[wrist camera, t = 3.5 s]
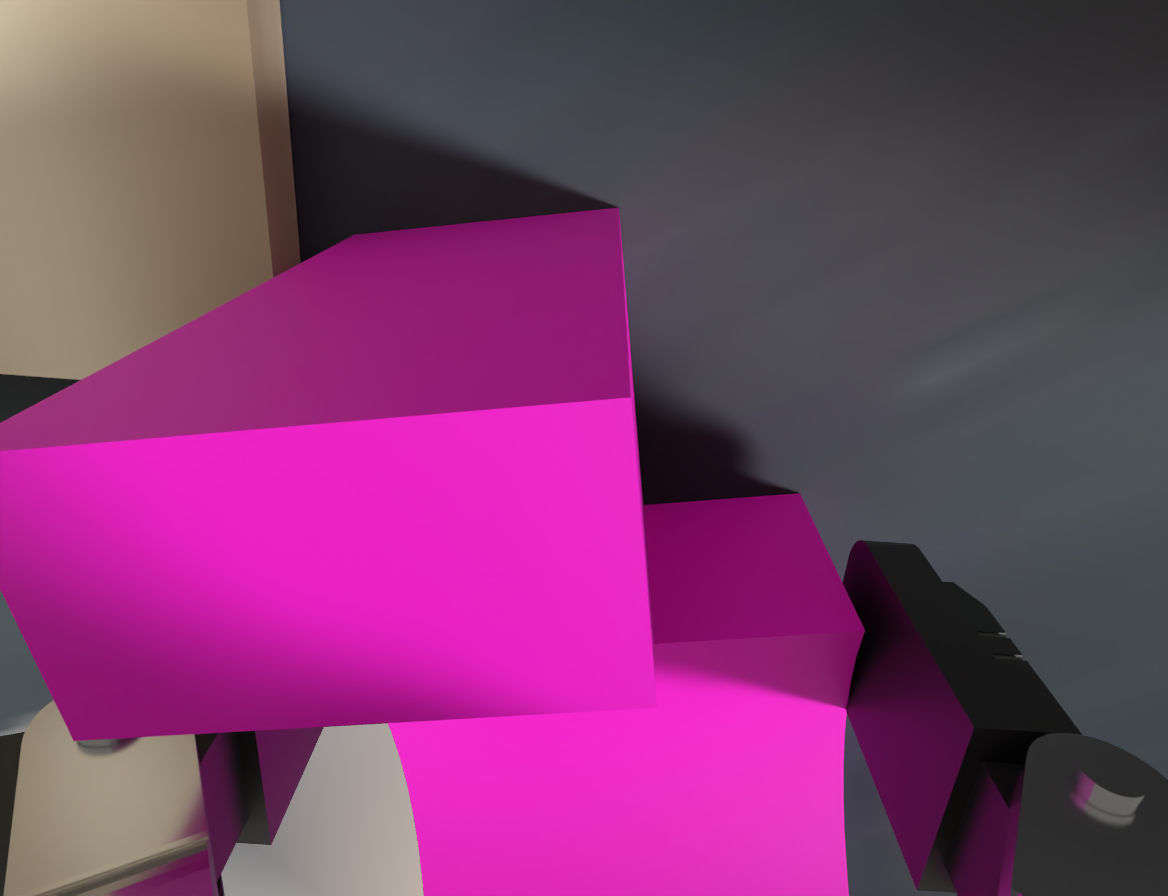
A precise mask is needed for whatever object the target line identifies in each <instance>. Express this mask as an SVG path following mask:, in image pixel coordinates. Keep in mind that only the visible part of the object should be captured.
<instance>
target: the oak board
mask: <svg viewBox="0 0 1168 896" xmlns="http://www.w3.org/2000/svg"><path fill="white" fill-rule="evenodd" d="M300 263H301V260H300V248H299V236H298V223H297V211H296V199H295V186H294V174H293V162H292V150H291V137H290V125H289V113H288V100H287V88H286V76H285V64H284V51H283V39H282V27H281V14H280V2H279V0H0V374H8V375H22V376H35V377H49V378H62V379H76V380H82V379H84V378H86V377H88V376H89V375H91V374H93V373H95V372H97V371H99V370H101V369H103V368H104V367H106V366H108V365H110V364H112V363H114V362H116V361H118V360H120V359H121V358H123V357H125V356H127V355H129V354H131V353H133V352H135V351H136V350H138V349H140V348H142V347H144V346H146V345H148V344H150V343H152V342H153V341H155V340H157V339H159V338H161V337H163V336H165V335H167V334H168V333H170V332H172V331H174V330H176V329H178V328H180V327H182V326H184V325H185V324H187V323H189V322H191V321H193V320H195V319H197V318H199V317H200V316H202V315H204V314H206V313H208V312H210V311H212V310H214V309H215V308H217V307H219V306H221V305H223V304H225V303H227V302H229V301H231V300H232V299H234V298H236V297H238V296H240V295H242V294H244V293H246V292H247V291H249V290H251V289H253V288H255V287H257V286H259V285H261V284H263V283H264V282H266V281H268V280H270V279H272V278H274V277H276V276H278V275H279V274H281V273H283V272H285V271H287V270H289V269H291V268H293V267H295V266H296V265H298V264H300Z"/></svg>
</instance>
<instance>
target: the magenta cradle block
mask: <svg viewBox="0 0 1168 896" xmlns="http://www.w3.org/2000/svg"><path fill="white" fill-rule="evenodd" d="M0 590H1V592H2V594H3V596H4V598H5V600H6V602H7V604H8V606H9V608H10V610H11V612H12V614H13V616H14V619H15V621H16V623H17V625H18V627H19V629H20V631H21V633H22V635H23V637H24V639H25V641H26V643H27V645H28V648H29V650H30V652H31V654H32V656H33V658H34V660H35V662H36V664H37V666H38V668H39V670H40V672H41V674H42V677H43V679H44V681H45V683H46V685H47V687H48V689H49V691H50V693H51V695H52V697H53V699H54V701H55V703H56V706H57V708H58V710H59V712H60V714H61V716H62V718H63V720H64V722H65V724H66V726H67V728H68V730H69V732H70V735H71V737H72V739H73V741H84V740H101V739H119V738H136V737H154V736H172V735H189V734H207V733H224V732H242V731H259V730H277V729H294V728H312V727H329V726H347V725H363V724H382V723H388V725H389V727H390V730H391V732H392V735H393V738H394V741H395V744H396V747H397V750H398V753H399V756H400V759H401V763H402V766H403V771H404V775H405V778H406V782H407V786H408V790H409V795H410V800H411V805H412V809H413V815H414V821H415V827H416V833H417V840H418V847H419V854H420V863H421V871H422V881H423V891H424V896H849V890H848V878H847V866H846V849H845V832H844V801H843V762H844V738H845V725H846V713H847V711H846V706H847V703H848V697H849V690H850V684H851V678H852V673H853V669H854V665H855V660H856V656H857V653H858V650H859V647H860V644H861V641H862V638H863V635H864V632H865V629H864V627H863V625H862V623H861V621H860V619H859V617H858V615H857V613H856V610H855V608H854V606H853V604H852V602H851V600H850V598H849V596H848V594H847V592H846V589H845V587H844V585H843V583H842V581H841V579H840V577H839V575H838V573H837V570H836V568H835V566H834V564H833V562H832V560H831V558H830V556H829V554H828V552H827V549H826V547H825V545H824V543H823V541H822V539H821V537H820V535H819V533H818V530H817V528H816V526H815V524H814V522H813V520H812V518H811V516H810V514H809V512H808V509H807V507H806V505H805V503H804V501H803V499H802V497H801V495H800V493H797V494H784V495H771V496H757V497H744V498H731V499H718V500H704V501H691V502H678V503H665V504H651V505H643V495H642V483H641V471H640V458H639V446H638V434H637V422H636V410H635V398H634V386H633V373H632V361H631V349H630V337H629V325H628V313H627V300H626V288H625V276H624V264H623V252H622V240H621V227H620V215H619V208H609V209H599V210H589V211H580V212H570V213H560V214H551V215H541V216H531V217H522V218H512V219H502V220H492V221H483V222H473V223H463V224H454V225H444V226H434V227H425V228H415V229H405V230H395V231H386V232H376V233H366V234H357V235H353V236H351V237H349V238H347V239H345V240H343V241H342V242H340V243H338V244H336V245H334V246H332V247H330V248H328V249H327V250H325V251H323V252H321V253H319V254H317V255H315V256H313V257H311V258H310V259H308V260H306V261H304V262H302V263H300V264H298V265H296V266H295V267H293V268H291V269H289V270H287V271H285V272H283V273H281V274H279V275H278V276H276V277H274V278H272V279H270V280H268V281H266V282H264V283H263V284H261V285H259V286H257V287H255V288H253V289H251V290H249V291H247V292H246V293H244V294H242V295H240V296H238V297H236V298H234V299H232V300H231V301H229V302H227V303H225V304H223V305H221V306H219V307H217V308H215V309H214V310H212V311H210V312H208V313H206V314H204V315H202V316H200V317H199V318H197V319H195V320H193V321H191V322H189V323H187V324H185V325H184V326H182V327H180V328H178V329H176V330H174V331H172V332H170V333H168V334H167V335H165V336H163V337H161V338H159V339H157V340H155V341H153V342H152V343H150V344H148V345H146V346H144V347H142V348H140V349H138V350H136V351H135V352H133V353H131V354H129V355H127V356H125V357H123V358H121V359H120V360H118V361H116V362H114V363H112V364H110V365H108V366H106V367H104V368H103V369H101V370H99V371H97V372H95V373H93V374H91V375H89V376H88V377H86V378H84V379H82V380H80V381H78V382H76V383H74V384H73V385H71V386H69V387H67V388H65V389H63V390H61V391H59V392H57V393H56V394H54V395H52V396H50V397H48V398H46V399H44V400H42V401H41V402H39V403H37V404H35V405H33V406H31V407H29V408H27V409H25V410H24V411H22V412H20V413H18V414H16V415H14V416H12V417H10V418H9V419H7V420H5V421H3V422H1V423H0Z"/></svg>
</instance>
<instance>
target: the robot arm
mask: <svg viewBox="0 0 1168 896" xmlns="http://www.w3.org/2000/svg"><path fill="white" fill-rule="evenodd" d="M843 585H844V587H845V589H846V592H847V594H848V596H849V598H850V600H851V602H852V604H853V606H854V608H855V610H856V613H857V615H858V617H859V619H860V621H861V623H862V625H863V627H864V629H865V632H864V635H863V638H862V641H861V644H860V647H859V650H858V653H857V656H856V660H855V665H854V669H853V673H852V678H851V684H850V690H849V697H848V703H847V706H846V711H847V714H848V716H849V719H850V722H851V724H852V727H853V729H854V732H855V734H856V737H857V739H858V742H859V744H860V747H861V749H862V752H863V754H864V757H865V760H866V762H867V765H868V767H869V770H870V772H871V775H872V777H873V780H874V782H875V785H876V787H877V790H878V792H879V795H880V798H881V800H882V803H883V805H884V808H885V810H886V813H887V815H888V818H889V820H890V823H891V825H892V828H893V830H894V833H895V836H896V838H897V841H898V843H899V846H900V848H901V851H902V853H903V856H904V858H905V861H906V863H907V866H908V868H909V871H910V874H911V876H912V879H913V881H914V884H915V886H916V889H917V890H924V891H939V892H954V893H957V895H958V896H1168V780H1167V779H1166V778H1165V777H1164V776H1163V775H1161V774H1160V773H1159V772H1158V771H1157V770H1155V769H1154V768H1153V767H1151V766H1150V765H1149V764H1147V763H1146V762H1144V761H1143V760H1141V759H1139V758H1138V757H1136V756H1134V755H1133V754H1131V753H1129V752H1127V751H1125V750H1123V749H1121V748H1119V747H1117V746H1114V745H1112V744H1110V743H1107V742H1105V741H1102V740H1099V739H1096V738H1092V737H1088V736H1084V735H1082V734H1081V733H1080V731H1079V730H1078V729H1077V727H1076V726H1075V725H1074V723H1073V722H1072V721H1071V719H1070V718H1069V717H1068V715H1067V714H1066V713H1065V711H1064V710H1063V709H1062V707H1061V706H1060V705H1059V703H1058V702H1057V701H1056V699H1055V698H1054V697H1053V695H1052V694H1051V693H1050V691H1049V690H1048V689H1047V687H1046V686H1045V685H1044V683H1043V682H1042V681H1041V679H1040V678H1039V677H1038V675H1037V674H1036V673H1035V671H1034V670H1033V669H1032V667H1031V666H1030V665H1029V663H1028V662H1027V661H1023V660H1022V654H1021V653H1020V651H1019V650H1018V649H1017V647H1016V646H1015V645H1014V643H1013V642H1012V641H1011V639H1010V638H1006V636H1005V634H1006V633H1005V631H1004V630H1003V629H1002V627H1001V626H1000V625H999V623H998V622H997V621H996V619H995V618H994V617H993V615H992V614H991V613H990V611H989V610H988V609H987V607H986V606H985V605H983V604H982V603H981V602H979V601H978V600H977V599H975V598H974V597H972V596H971V595H970V594H968V593H967V592H966V591H964V590H963V589H962V588H960V587H959V586H957V585H956V584H955V583H953V582H942V581H941V579H940V578H939V576H938V575H937V573H936V572H935V571H934V569H933V568H932V566H931V565H930V563H929V562H928V561H927V559H926V558H925V556H924V555H923V553H922V552H921V551H920V549H919V548H918V547H917V546H916V545H914V544H905V543H891V542H876V541H862V540H860V541H857V542H856V543H855V544H854V545H853V547H852V549H851V552H850V555H849V558H848V563H847V567H846V571H845V575H844V579H843ZM322 729H323V727H312V728H294V729H277V730H259V731H242V732H224V733H207V734H189V735H172V736H154V737H136V738H119V739H101V740H84V741H73V739H72V737H71V735H70V732H69V730H68V728H67V726H66V724H65V722H64V720H63V718H62V716H61V714H60V712H59V710H58V708H57V706H56V703H55V701H54V700H53V701H52V702H51V703H49V704H48V705H47V706H45V707H44V708H43V709H42V710H41V711H40V712H39V713H38V714H37V715H36V716H35V717H34V719H33V720H32V721H31V723H30V724H29V725H28V727H27V729H26V731H25V732H22V733H17V734H11V735H5V736H0V896H225V894H224V888H223V882H222V876H221V873H222V871H223V869H224V866H225V864H226V862H227V860H228V858H229V856H230V854H231V852H232V850H233V848H234V846H235V844H236V843H250V844H265V845H271V844H272V842H273V839H274V837H275V835H276V833H277V830H278V828H279V826H280V824H281V821H282V819H283V817H284V815H285V813H286V810H287V808H288V806H289V804H290V801H291V799H292V797H293V794H294V792H295V790H296V788H297V786H298V783H299V781H300V779H301V777H302V774H303V772H304V770H305V768H306V765H307V763H308V761H309V759H310V756H311V754H312V752H313V750H314V747H315V745H316V743H317V741H318V738H319V736H320V734H321V732H322Z"/></svg>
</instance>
